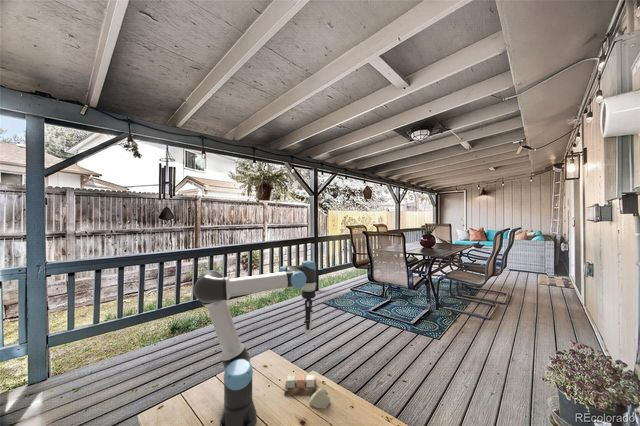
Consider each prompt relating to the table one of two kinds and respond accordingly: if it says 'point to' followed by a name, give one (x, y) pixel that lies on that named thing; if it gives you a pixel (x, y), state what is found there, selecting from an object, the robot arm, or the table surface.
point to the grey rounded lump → (320, 398)
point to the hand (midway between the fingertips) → (308, 329)
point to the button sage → (291, 381)
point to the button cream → (310, 380)
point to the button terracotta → (300, 381)
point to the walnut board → (299, 389)
